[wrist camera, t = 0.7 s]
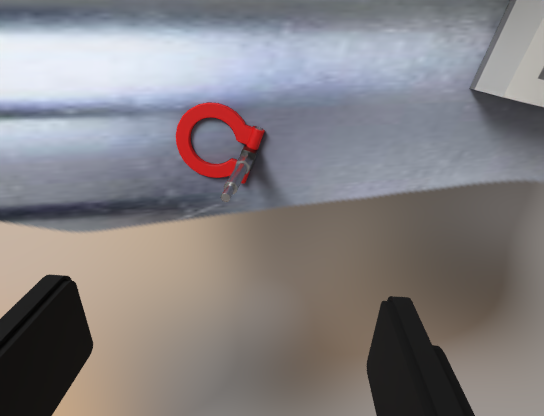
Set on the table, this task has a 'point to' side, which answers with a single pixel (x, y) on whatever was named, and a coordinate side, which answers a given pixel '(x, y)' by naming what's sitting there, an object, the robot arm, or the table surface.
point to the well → (516, 55)
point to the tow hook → (233, 167)
